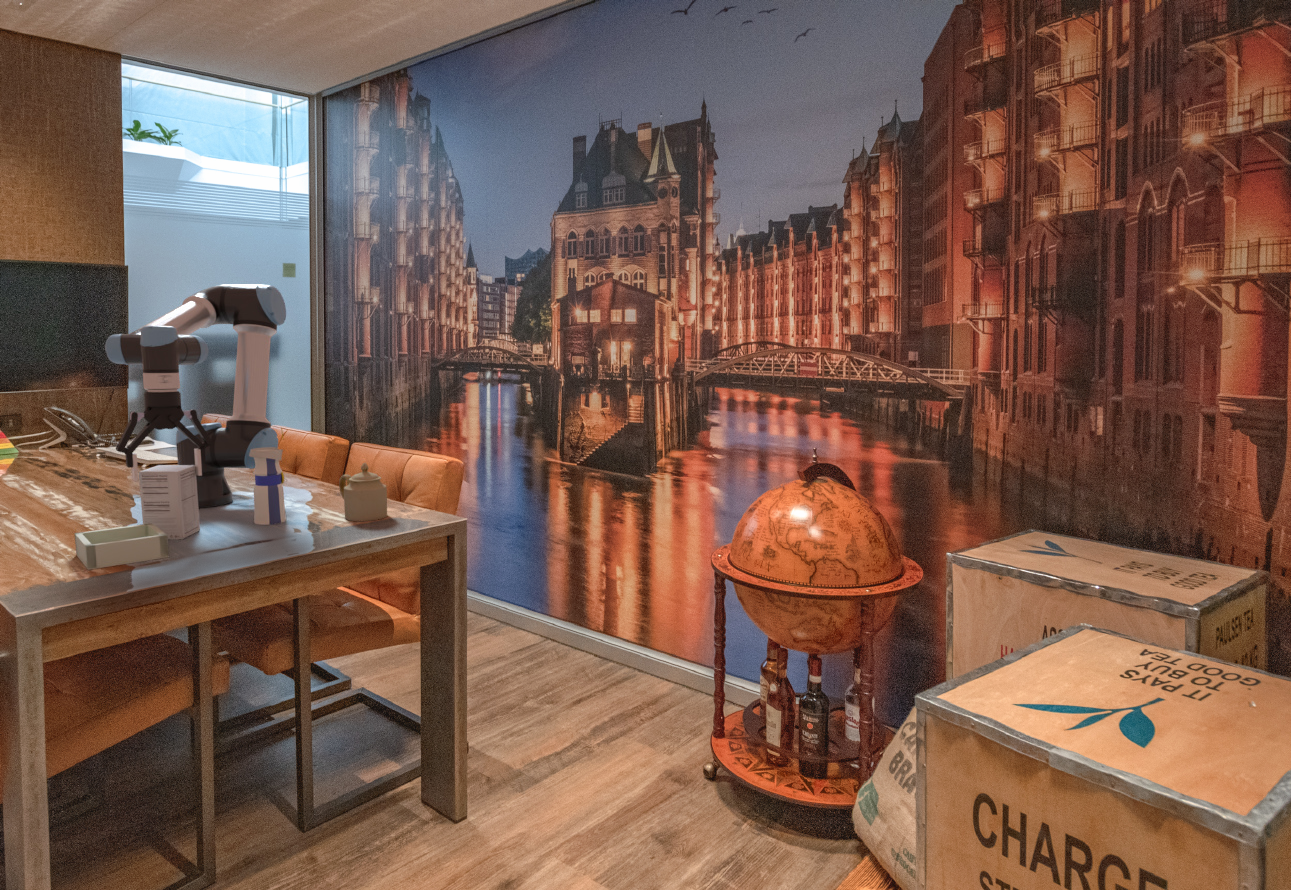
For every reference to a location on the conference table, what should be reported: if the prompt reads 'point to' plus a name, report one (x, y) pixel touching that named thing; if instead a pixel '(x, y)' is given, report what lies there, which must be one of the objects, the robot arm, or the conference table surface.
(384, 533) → the conference table surface
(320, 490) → the conference table surface
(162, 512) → the supplement box
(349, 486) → the sugar bowl
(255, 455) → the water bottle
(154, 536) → the crate
